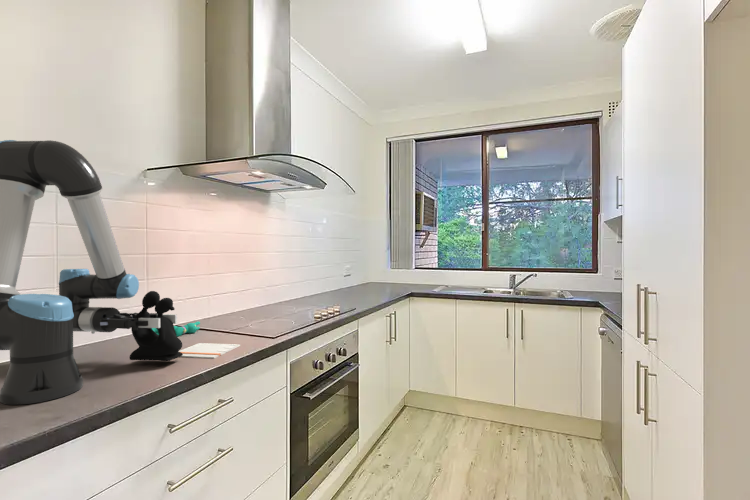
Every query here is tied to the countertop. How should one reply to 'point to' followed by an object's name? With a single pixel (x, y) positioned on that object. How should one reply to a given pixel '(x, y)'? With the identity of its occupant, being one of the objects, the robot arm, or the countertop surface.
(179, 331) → the toy
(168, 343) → the figurine
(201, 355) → the mat
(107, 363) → the countertop surface
